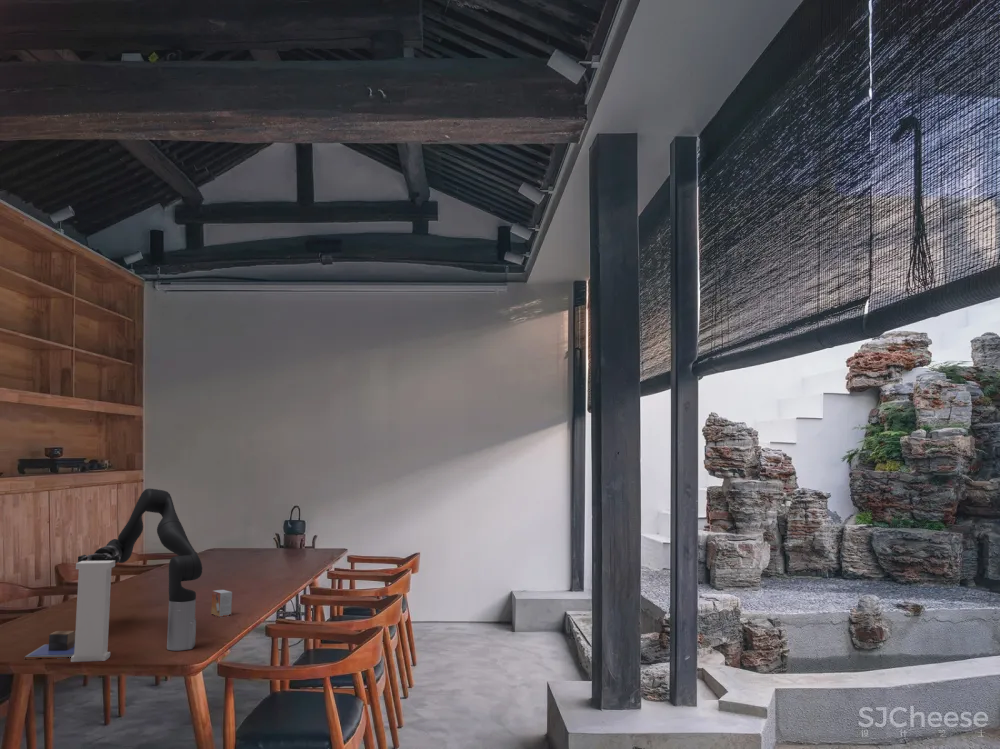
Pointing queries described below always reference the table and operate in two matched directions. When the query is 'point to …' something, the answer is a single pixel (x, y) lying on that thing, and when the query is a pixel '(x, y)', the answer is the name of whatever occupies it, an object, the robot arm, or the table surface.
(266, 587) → the table surface
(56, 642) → the stamp
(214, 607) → the small box
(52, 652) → the pad
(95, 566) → the tall post
